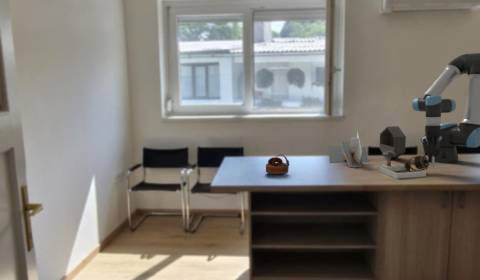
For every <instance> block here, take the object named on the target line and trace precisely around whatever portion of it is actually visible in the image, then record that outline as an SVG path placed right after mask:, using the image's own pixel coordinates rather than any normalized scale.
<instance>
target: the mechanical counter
mask: <svg viewBox="0 0 480 280" xmlns="http://www.w3.org/2000/svg"><path fill="white" fill-rule="evenodd" d="M413 159H414V160H413ZM411 160H413V165H414V167H415V168H416V169H415V168H413V167H412V166H411V163H410V162H411ZM429 165H430V164H429V162H428V158H427V156H426V155H425V154H423V155H422V154H421V155H420V154H419V155H417V156H413V157H411V158H409V160H408V162H407V161H405V162H404V164H403V166H405V168H406V169H407V170H406V171H408V172H409V171H411V170H412V171H414V172H422V171H425V170H428V168H429Z"/></svg>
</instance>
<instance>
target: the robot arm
mask: <svg viewBox="0 0 480 280" xmlns="http://www.w3.org/2000/svg"><path fill="white" fill-rule="evenodd" d="M462 75H467V77H468V78H469V79H468V80H469V81H468V82H469V83H468V89H467V92H466V93H467V94H466V99H465V106H464V112H463V118H462V120H461V121H459V124H458V122H447V123H442V114H448V113H452V112H454V111H455V110H456V107H457V104H456V101H455V100H454V99H452V98H442V94H444V92H445V91H446V90H447V89H448V87H449V86H450V85H451V84H452V83H453V82H454V80H455V79H458V78H459V77H460V76H462ZM411 106H412V110H413V111H415V112H424V113H425V117H424V118H425V119H424V121H425V122H424V123H425V126H424V131H425V132H424V133H425V134H424V137H422V138H420V141H421V143H422V147H423V148H422V149H423V152H424V155H425V156H426V157H428V158H427V160H428V162H429V164H430V165H429V166H428V168H429V169H432V170H435V163H445V164H446V163H447V164H452V163H453V164H454V163H458V162H459V160H460V159H459V155H458V151H457V146H459V147H467V148H478V147H480V52H476V53H475V52H473V53H464V54H460V55H458V56H457V57H455V58H453V59H452V60H451V61H449V62H448V64H446V66H445V67H444V68H443V72H441V74H440V75H439V76H438V78H437V79H436V80H435V81H434V82H433V83H432V84H431V85H430V86H429V88H428V89H427V90H426V91H425V93H423V95H422V96H420V97H415V98H413V100H412V103H411Z"/></svg>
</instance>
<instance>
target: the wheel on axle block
mask: <svg viewBox="0 0 480 280" xmlns="http://www.w3.org/2000/svg"><path fill="white" fill-rule="evenodd" d="M382 157H384V158H385V157H387V159H386V164H385V163H384V164H380V167H389V166H396V165H395V164H392V163H391V161H392V159H391V157H396V153H393V152H390V151H388V152H384V153H382Z"/></svg>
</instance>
